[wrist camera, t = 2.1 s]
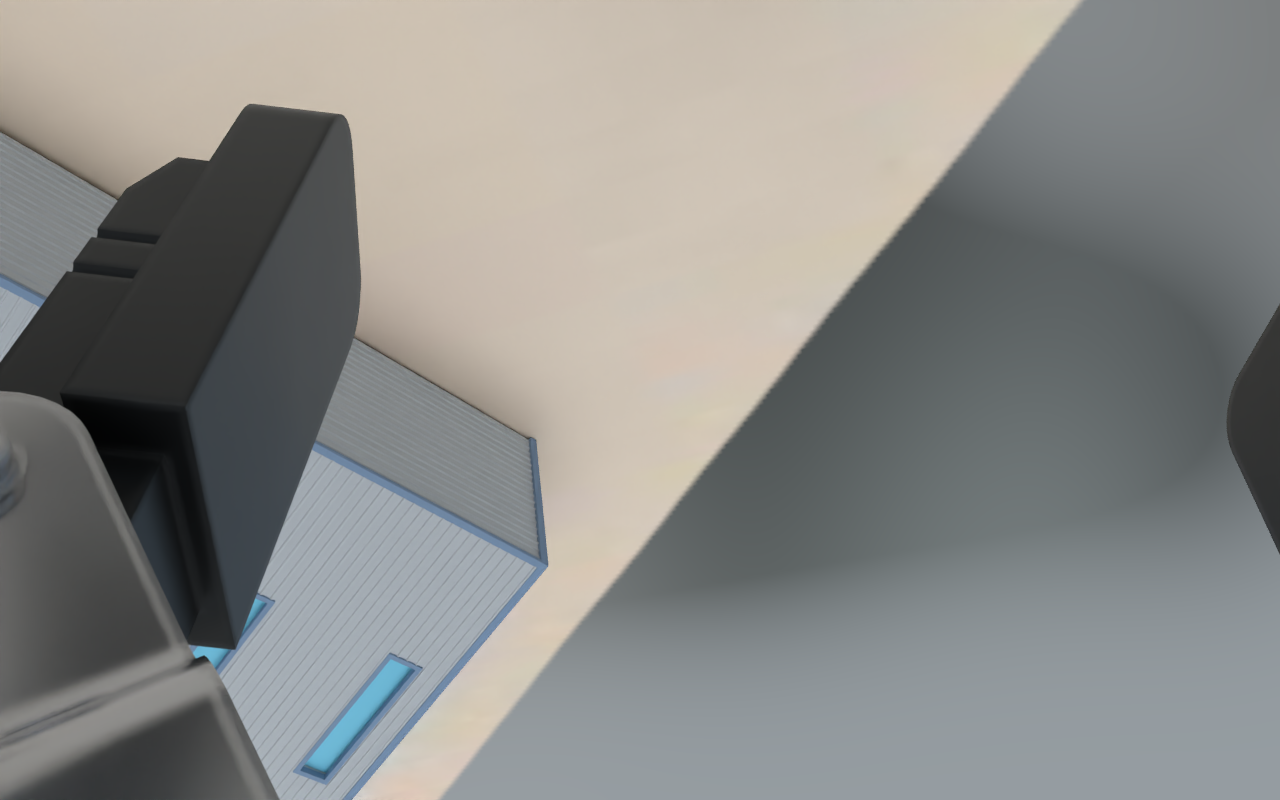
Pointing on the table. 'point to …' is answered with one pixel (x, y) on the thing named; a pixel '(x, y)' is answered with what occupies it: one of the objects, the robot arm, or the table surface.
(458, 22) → the table surface
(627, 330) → the table surface
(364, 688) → the warehouse
